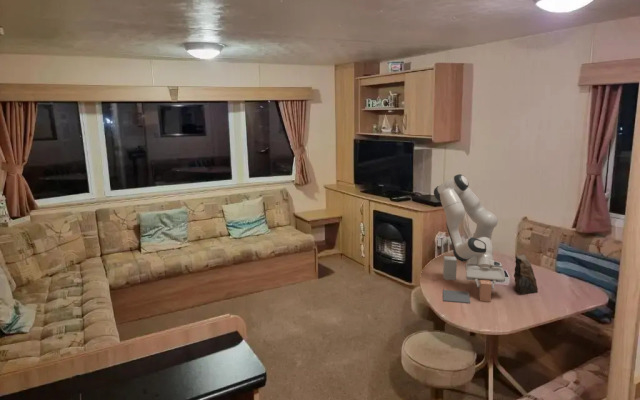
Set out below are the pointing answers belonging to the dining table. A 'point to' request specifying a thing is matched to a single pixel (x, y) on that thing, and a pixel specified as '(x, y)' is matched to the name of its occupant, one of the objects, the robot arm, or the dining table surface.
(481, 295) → the tan rectangular pillar
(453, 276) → the supplement box
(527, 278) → the dark brown rock
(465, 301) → the grey mat
